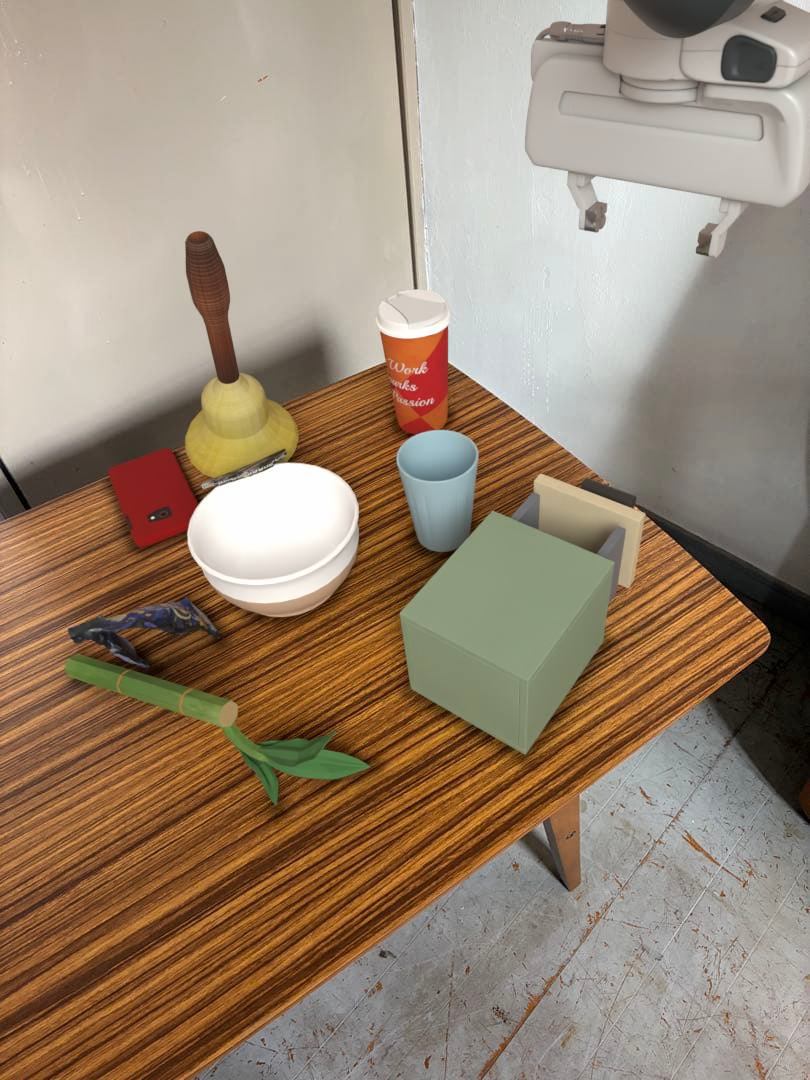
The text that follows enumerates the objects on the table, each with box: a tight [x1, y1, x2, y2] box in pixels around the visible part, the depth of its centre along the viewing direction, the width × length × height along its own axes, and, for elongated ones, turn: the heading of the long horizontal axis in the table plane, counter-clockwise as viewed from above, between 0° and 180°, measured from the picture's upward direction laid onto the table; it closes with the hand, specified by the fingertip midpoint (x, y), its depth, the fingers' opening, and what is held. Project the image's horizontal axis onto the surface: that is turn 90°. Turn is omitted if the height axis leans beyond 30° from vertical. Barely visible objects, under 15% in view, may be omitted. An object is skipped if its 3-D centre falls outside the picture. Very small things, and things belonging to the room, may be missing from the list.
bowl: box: [186, 462, 360, 618], centre depth 76 cm, size 16×16×8 cm
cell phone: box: [107, 447, 200, 549], centre depth 89 cm, size 8×15×1 cm, turn 27°
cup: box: [395, 429, 480, 553], centre depth 78 cm, size 8×8×10 cm
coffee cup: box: [374, 289, 452, 435], centre depth 90 cm, size 8×8×15 cm
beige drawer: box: [509, 473, 646, 604], centre depth 71 cm, size 17×10×9 cm, turn 143°
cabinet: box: [399, 510, 615, 755], centre depth 66 cm, size 13×11×10 cm
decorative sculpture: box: [199, 449, 287, 490], centre depth 83 cm, size 20×1×10 cm
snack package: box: [67, 596, 223, 671], centre depth 71 cm, size 12×6×12 cm
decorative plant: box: [63, 653, 371, 807], centre depth 66 cm, size 6×8×30 cm
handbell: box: [184, 230, 300, 479], centre depth 76 cm, size 12×12×25 cm
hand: (648, 240), depth 60 cm, fingers open, 8 cm apart
